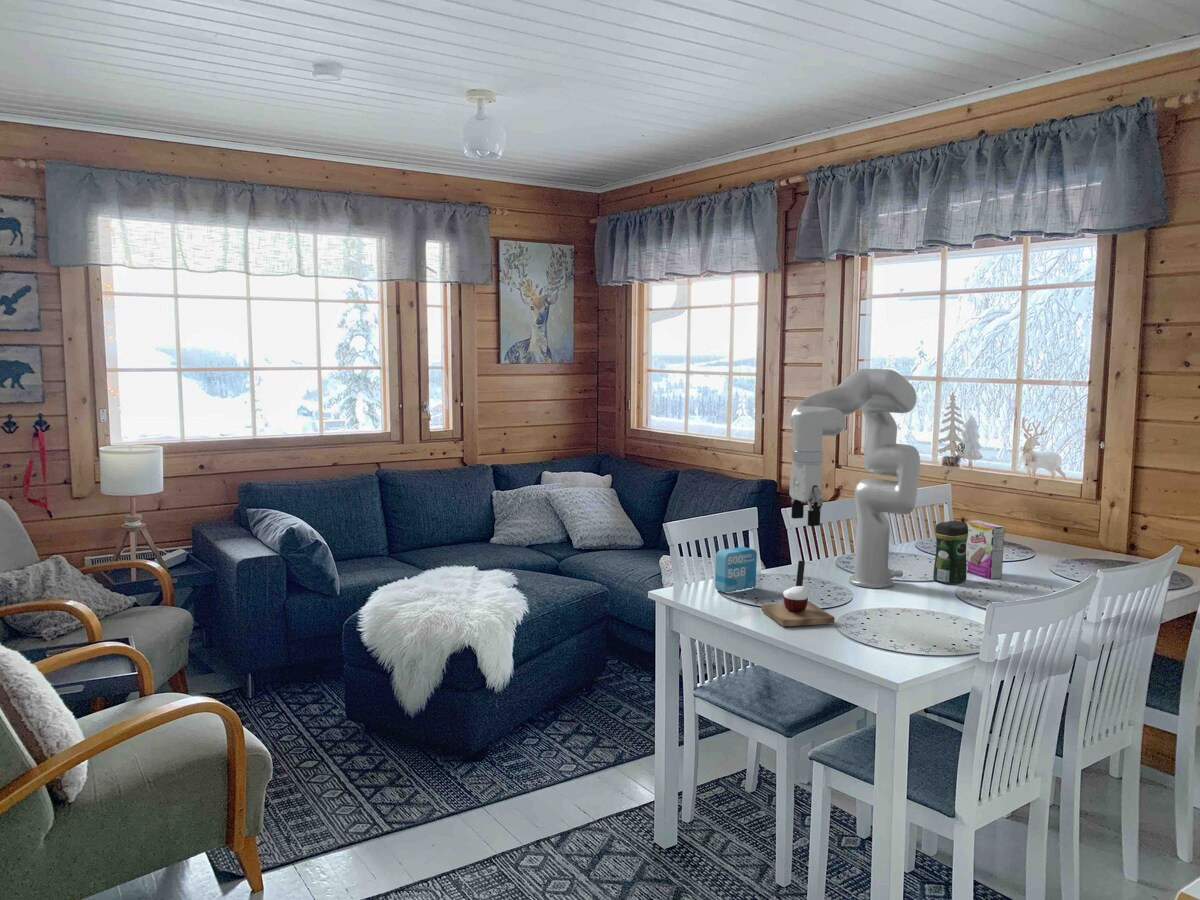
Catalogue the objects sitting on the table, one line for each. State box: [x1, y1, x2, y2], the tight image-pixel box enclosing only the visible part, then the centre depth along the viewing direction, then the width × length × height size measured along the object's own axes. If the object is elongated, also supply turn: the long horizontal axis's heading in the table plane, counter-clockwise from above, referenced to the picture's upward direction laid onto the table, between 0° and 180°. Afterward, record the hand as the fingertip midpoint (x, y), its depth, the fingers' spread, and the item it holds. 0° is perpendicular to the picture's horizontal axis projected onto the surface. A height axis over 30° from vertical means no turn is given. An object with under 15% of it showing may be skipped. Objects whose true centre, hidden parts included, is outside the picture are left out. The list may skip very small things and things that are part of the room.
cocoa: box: [782, 560, 810, 612], centre depth 235 cm, size 10×6×12 cm, turn 131°
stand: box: [761, 601, 835, 628], centre depth 235 cm, size 14×14×2 cm
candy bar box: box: [966, 519, 1006, 580], centre depth 281 cm, size 11×5×16 cm, turn 22°
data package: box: [714, 546, 758, 593], centre depth 261 cm, size 12×4×12 cm, turn 123°
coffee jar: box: [932, 519, 968, 585], centre depth 273 cm, size 10×8×19 cm
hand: (805, 521), depth 236 cm, fingers open, 9 cm apart
